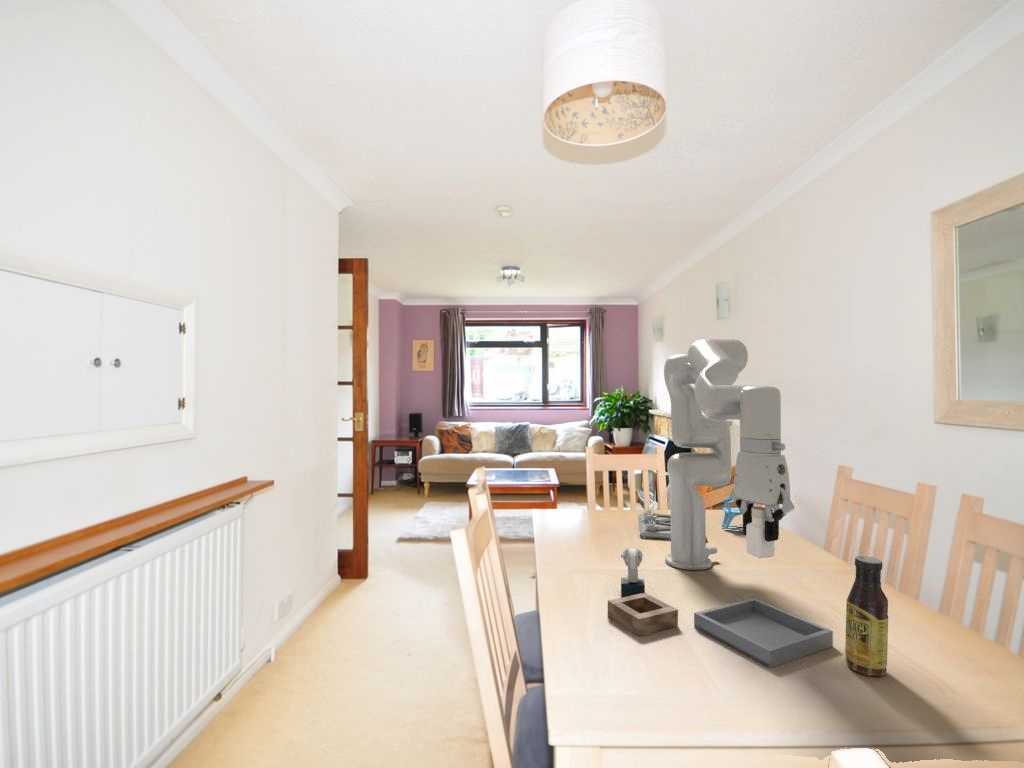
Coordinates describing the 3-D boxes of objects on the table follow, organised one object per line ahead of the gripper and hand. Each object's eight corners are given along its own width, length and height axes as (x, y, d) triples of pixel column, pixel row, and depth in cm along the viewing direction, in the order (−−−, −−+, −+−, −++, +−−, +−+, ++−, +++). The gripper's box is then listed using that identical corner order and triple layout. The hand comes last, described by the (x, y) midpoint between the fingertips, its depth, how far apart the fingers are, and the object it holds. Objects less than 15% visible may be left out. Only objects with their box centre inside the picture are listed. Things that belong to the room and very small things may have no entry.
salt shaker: (759, 559, 104) (758, 511, 104) (745, 553, 108) (745, 506, 108) (775, 557, 105) (775, 509, 105) (761, 551, 109) (761, 505, 109)
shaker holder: (644, 607, 120) (644, 592, 120) (677, 626, 111) (677, 609, 111) (607, 616, 116) (607, 600, 116) (638, 636, 106) (638, 619, 106)
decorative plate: (707, 544, 172) (707, 522, 172) (639, 540, 176) (639, 518, 176) (696, 521, 201) (696, 503, 201) (638, 518, 206) (638, 500, 206)
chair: (719, 526, 192) (719, 493, 192) (743, 527, 191) (743, 494, 191) (725, 532, 184) (724, 498, 184) (750, 533, 183) (749, 498, 183)
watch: (643, 588, 132) (643, 544, 132) (644, 601, 124) (644, 554, 124) (620, 587, 133) (620, 543, 133) (620, 599, 125) (620, 553, 125)
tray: (753, 611, 118) (753, 597, 118) (832, 646, 102) (832, 630, 102) (694, 627, 110) (694, 612, 110) (769, 668, 94) (769, 651, 94)
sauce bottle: (837, 661, 97) (836, 552, 97) (869, 659, 97) (868, 551, 97) (863, 680, 90) (863, 564, 90) (898, 679, 91) (897, 563, 91)
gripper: (811, 450, 101) (812, 545, 101) (738, 442, 116) (738, 525, 116) (785, 452, 98) (785, 551, 97) (713, 443, 113) (714, 529, 113)
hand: (760, 536), depth 107 cm, fingers closed on salt shaker, 4 cm apart
